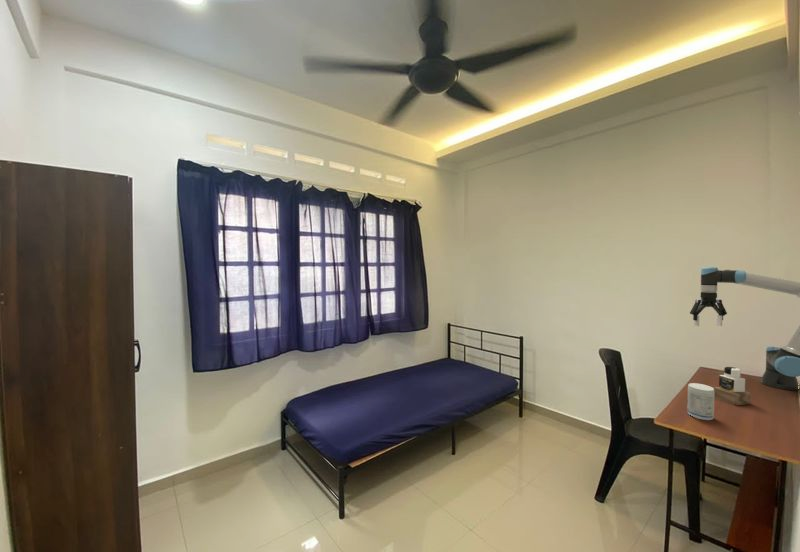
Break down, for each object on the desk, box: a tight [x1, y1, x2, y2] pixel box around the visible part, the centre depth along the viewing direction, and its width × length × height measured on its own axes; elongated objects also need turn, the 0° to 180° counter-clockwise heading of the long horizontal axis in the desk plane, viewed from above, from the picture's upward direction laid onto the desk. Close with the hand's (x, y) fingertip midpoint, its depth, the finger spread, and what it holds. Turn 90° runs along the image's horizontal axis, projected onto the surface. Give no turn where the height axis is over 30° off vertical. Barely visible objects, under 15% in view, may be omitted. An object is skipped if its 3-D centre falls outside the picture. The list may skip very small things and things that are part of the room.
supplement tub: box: [686, 382, 715, 421], centre depth 157 cm, size 10×10×15 cm
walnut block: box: [712, 386, 751, 406], centre depth 175 cm, size 10×10×6 cm
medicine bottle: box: [718, 366, 746, 392], centre depth 174 cm, size 7×7×12 cm
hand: (708, 325), depth 204 cm, fingers open, 13 cm apart
